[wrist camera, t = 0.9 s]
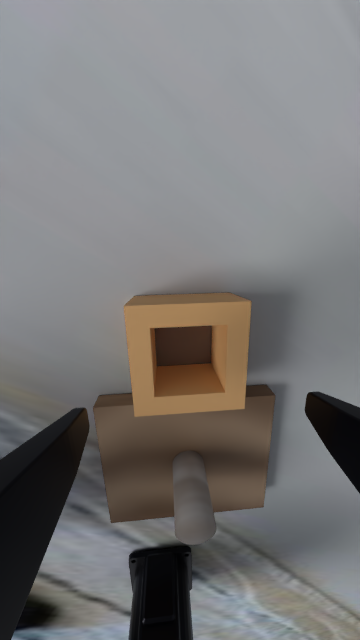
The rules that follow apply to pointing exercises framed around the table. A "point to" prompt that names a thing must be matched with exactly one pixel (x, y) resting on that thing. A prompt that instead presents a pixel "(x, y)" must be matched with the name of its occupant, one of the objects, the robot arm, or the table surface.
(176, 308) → the tan square ring
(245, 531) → the table surface
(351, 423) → the robot arm
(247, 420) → the keeper plate
